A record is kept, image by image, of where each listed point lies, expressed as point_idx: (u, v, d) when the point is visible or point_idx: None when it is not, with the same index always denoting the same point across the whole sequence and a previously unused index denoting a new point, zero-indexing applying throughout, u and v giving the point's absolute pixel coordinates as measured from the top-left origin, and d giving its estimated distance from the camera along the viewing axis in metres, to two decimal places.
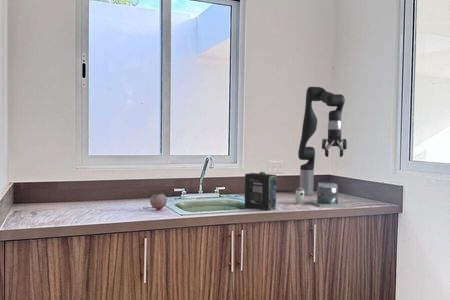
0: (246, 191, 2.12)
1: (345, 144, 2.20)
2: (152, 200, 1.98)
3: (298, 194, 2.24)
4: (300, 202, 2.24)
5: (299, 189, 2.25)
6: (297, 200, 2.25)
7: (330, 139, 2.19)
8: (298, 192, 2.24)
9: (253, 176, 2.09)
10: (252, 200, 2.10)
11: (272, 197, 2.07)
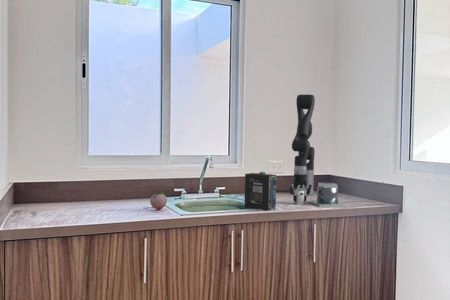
0: (246, 191, 2.12)
1: (309, 189, 2.26)
2: (152, 200, 1.98)
3: (298, 194, 2.24)
4: (300, 202, 2.24)
5: (299, 189, 2.25)
6: (297, 200, 2.25)
7: (295, 183, 2.25)
8: (298, 192, 2.24)
9: (253, 176, 2.09)
10: (252, 200, 2.10)
11: (272, 197, 2.07)
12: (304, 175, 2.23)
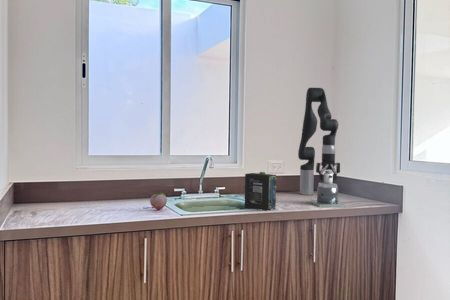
0: (246, 191, 2.12)
1: (339, 168, 2.25)
2: (152, 200, 1.98)
3: (327, 177, 2.23)
4: None
5: (328, 172, 2.24)
6: (325, 183, 2.24)
7: (324, 163, 2.24)
8: (327, 175, 2.23)
9: (253, 176, 2.09)
10: (252, 200, 2.10)
11: (272, 197, 2.07)
12: (333, 154, 2.22)
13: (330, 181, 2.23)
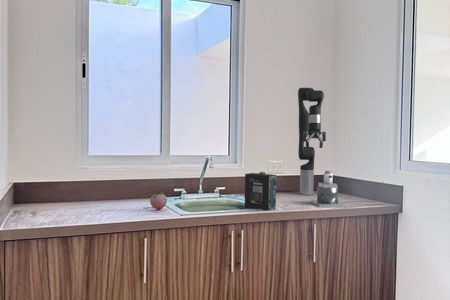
0: (246, 191, 2.12)
1: (324, 136, 2.39)
2: (152, 200, 1.98)
3: (326, 177, 2.23)
4: None
5: (327, 172, 2.24)
6: (325, 183, 2.24)
7: (310, 132, 2.37)
8: (326, 175, 2.23)
9: (253, 176, 2.09)
10: (252, 200, 2.10)
11: (272, 197, 2.07)
12: (318, 123, 2.36)
13: (330, 181, 2.23)
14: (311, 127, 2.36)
